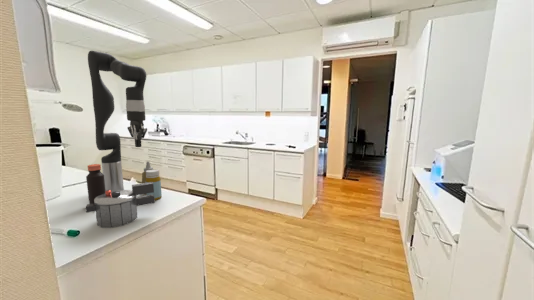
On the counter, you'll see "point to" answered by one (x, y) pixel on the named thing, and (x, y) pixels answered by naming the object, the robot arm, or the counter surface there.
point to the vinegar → (95, 182)
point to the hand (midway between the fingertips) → (138, 146)
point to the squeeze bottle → (145, 171)
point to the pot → (118, 212)
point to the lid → (123, 194)
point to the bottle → (154, 182)
